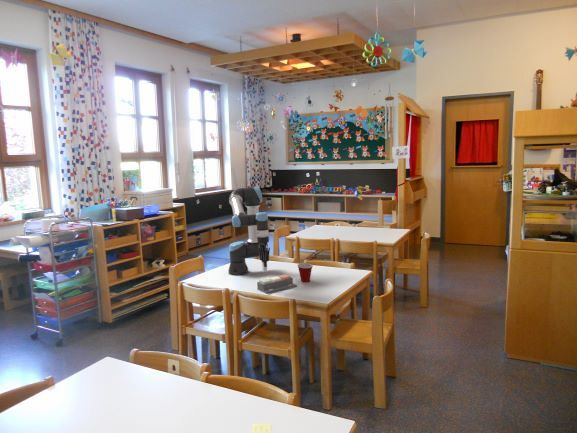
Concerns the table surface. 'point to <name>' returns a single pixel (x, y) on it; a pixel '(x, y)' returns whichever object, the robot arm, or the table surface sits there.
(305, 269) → the plastic cup
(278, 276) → the terracotta key
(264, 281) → the sage key
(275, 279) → the cream key
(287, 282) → the keypad
